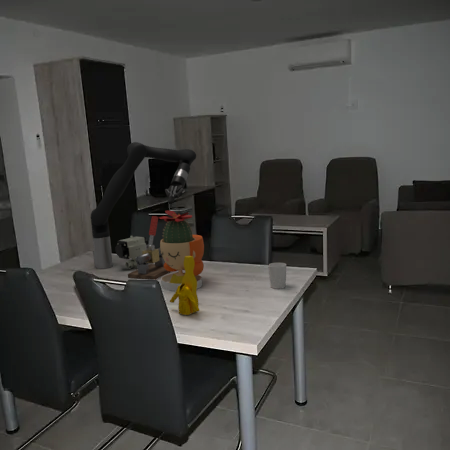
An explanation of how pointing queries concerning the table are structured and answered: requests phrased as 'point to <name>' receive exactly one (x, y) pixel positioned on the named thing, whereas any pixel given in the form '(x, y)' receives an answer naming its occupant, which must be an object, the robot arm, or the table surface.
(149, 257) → the valve pipe
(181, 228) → the potted cactus
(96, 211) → the robot arm
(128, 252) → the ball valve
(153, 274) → the valve stand base
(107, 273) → the table surface
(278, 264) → the white cup
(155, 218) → the valve lever
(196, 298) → the figure statuette
